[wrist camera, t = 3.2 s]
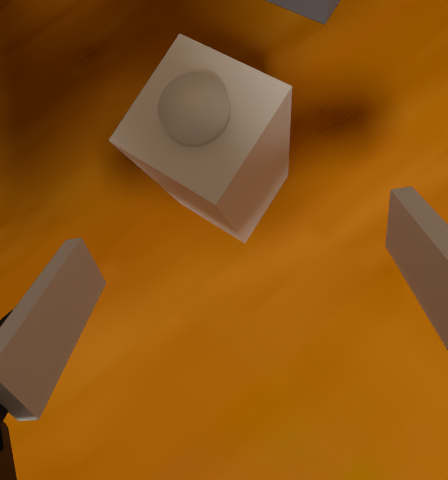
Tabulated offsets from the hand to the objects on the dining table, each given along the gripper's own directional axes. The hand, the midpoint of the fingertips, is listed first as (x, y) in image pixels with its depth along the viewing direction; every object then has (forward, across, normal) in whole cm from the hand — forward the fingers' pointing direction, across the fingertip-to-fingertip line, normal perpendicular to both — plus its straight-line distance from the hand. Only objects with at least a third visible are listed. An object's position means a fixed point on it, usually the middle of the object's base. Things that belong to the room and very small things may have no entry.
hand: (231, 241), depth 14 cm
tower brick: (+11, -1, -3) cm, 12 cm away
